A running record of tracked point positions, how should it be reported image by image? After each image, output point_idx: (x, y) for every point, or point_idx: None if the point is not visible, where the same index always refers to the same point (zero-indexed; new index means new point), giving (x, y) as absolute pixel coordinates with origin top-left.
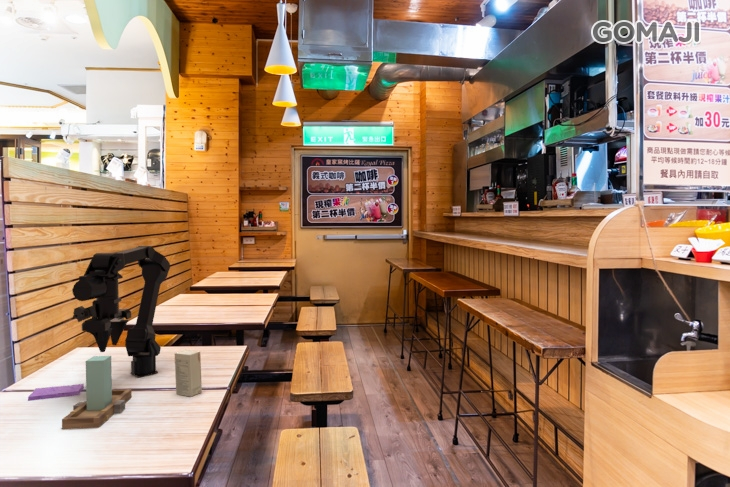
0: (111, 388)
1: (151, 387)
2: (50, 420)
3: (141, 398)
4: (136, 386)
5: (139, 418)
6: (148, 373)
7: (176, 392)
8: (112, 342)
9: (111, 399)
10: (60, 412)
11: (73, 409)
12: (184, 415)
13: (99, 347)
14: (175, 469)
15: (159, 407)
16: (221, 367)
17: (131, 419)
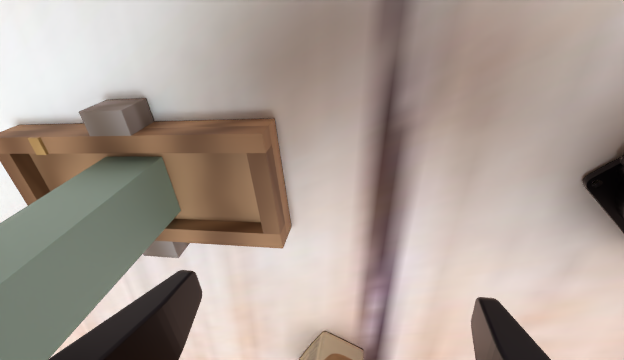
0: (143, 249)
1: (402, 260)
2: (43, 37)
3: (283, 256)
4: (426, 206)
5: (146, 283)
6: (621, 217)
7: (320, 336)
8: (482, 326)
9: (167, 220)
10: (111, 26)
11: (90, 107)
12: (185, 353)
13: (134, 309)
14: None
15: (220, 309)
16: None
17: (136, 269)
